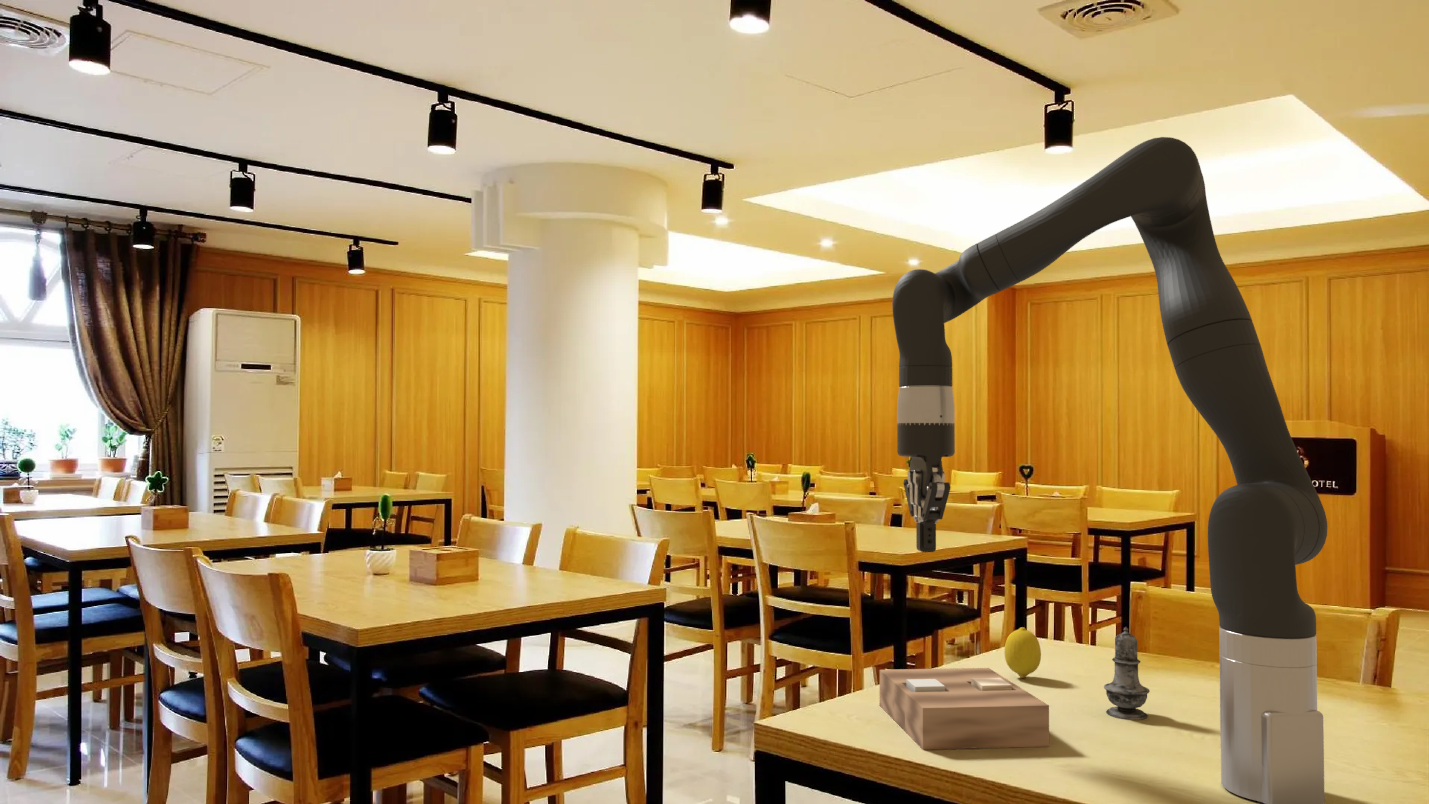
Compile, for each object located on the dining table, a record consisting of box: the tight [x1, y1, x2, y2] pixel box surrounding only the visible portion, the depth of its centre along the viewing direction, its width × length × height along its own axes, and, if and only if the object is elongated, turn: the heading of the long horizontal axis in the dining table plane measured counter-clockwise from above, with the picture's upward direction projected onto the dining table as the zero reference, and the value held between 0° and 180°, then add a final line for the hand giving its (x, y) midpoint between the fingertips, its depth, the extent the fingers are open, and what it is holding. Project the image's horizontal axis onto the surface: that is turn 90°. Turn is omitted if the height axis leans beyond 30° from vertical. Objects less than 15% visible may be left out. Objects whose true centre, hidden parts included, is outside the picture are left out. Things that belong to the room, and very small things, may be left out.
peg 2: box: [971, 678, 1012, 691], centre depth 132 cm, size 4×4×5 cm
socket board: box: [879, 667, 1050, 750], centre depth 132 cm, size 20×16×5 cm
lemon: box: [1003, 626, 1042, 679], centre depth 157 cm, size 6×6×8 cm
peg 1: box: [906, 679, 945, 692], centre depth 131 cm, size 4×4×5 cm
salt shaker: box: [1103, 626, 1151, 721], centre depth 137 cm, size 6×6×12 cm
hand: (926, 551), depth 132 cm, fingers closed
